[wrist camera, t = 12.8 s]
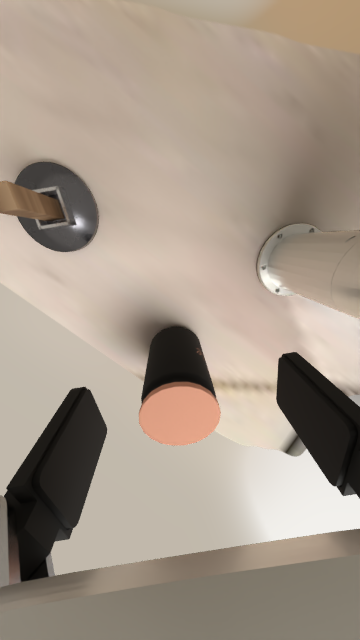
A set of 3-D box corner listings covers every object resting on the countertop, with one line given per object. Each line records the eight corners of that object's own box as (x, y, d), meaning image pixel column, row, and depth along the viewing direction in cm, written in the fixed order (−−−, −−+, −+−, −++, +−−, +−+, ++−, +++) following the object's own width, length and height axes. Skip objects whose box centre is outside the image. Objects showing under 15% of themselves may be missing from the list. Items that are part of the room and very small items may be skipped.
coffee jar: (193, 369, 44) (209, 449, 27) (147, 363, 42) (133, 443, 26) (205, 328, 40) (231, 391, 23) (154, 320, 38) (143, 380, 22)
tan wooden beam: (58, 200, 29) (5, 180, 19) (64, 218, 30) (17, 208, 20) (42, 203, 29) (-19, 184, 19) (49, 221, 30) (-5, 212, 20)
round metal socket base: (83, 158, 28) (73, 148, 25) (108, 245, 32) (102, 245, 29) (3, 172, 28) (-16, 164, 25) (39, 256, 33) (26, 258, 30)
